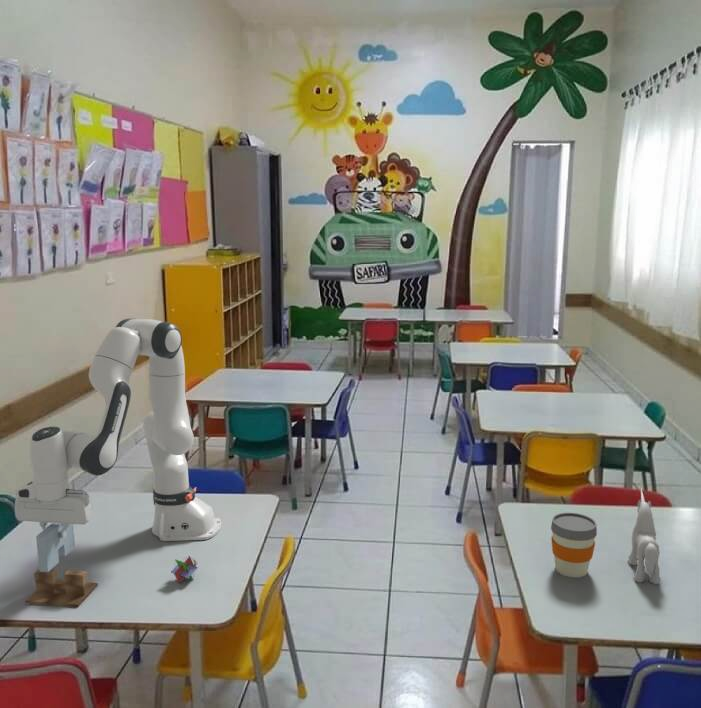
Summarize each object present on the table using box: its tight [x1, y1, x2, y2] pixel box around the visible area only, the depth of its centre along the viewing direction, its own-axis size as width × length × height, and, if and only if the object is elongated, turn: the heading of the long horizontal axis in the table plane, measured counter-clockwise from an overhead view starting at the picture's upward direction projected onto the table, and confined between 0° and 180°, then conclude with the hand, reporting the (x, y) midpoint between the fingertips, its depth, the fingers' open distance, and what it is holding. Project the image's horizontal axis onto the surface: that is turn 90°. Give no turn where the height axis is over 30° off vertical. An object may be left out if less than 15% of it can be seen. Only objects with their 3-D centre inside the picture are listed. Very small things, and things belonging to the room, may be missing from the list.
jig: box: [25, 567, 99, 608], centre depth 194 cm, size 15×11×7 cm
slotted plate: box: [35, 523, 76, 572], centre depth 191 cm, size 14×2×10 cm, turn 173°
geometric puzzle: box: [170, 555, 199, 585], centre depth 201 cm, size 7×7×8 cm
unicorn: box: [627, 488, 661, 585], centre depth 204 cm, size 8×25×20 cm, turn 166°
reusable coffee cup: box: [550, 512, 598, 578], centre depth 203 cm, size 13×13×15 cm
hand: (55, 536), depth 191 cm, fingers closed on slotted plate, 2 cm apart
